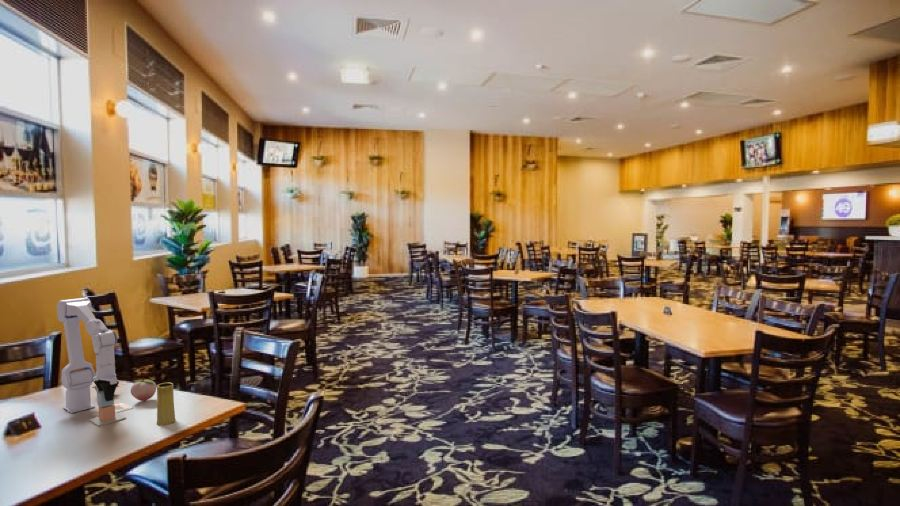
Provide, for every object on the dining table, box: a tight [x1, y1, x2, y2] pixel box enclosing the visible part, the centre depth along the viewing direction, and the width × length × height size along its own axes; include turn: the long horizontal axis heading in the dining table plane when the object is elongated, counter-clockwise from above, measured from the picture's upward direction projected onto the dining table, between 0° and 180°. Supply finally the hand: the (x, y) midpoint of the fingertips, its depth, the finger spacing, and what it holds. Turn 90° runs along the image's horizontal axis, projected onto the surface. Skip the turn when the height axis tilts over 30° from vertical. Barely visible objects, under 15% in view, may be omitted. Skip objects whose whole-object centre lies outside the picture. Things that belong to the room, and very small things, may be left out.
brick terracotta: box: [97, 403, 115, 421], centre depth 188 cm, size 4×4×5 cm
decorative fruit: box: [130, 377, 157, 402], centre depth 207 cm, size 9×8×10 cm
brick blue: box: [96, 391, 115, 407], centre depth 187 cm, size 4×4×5 cm
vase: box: [156, 382, 176, 426], centre depth 185 cm, size 6×6×14 cm
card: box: [114, 402, 133, 413], centre depth 199 cm, size 10×7×1 cm
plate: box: [89, 412, 127, 427], centre depth 188 cm, size 9×9×1 cm
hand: (106, 399), depth 187 cm, fingers closed on brick blue, 4 cm apart
